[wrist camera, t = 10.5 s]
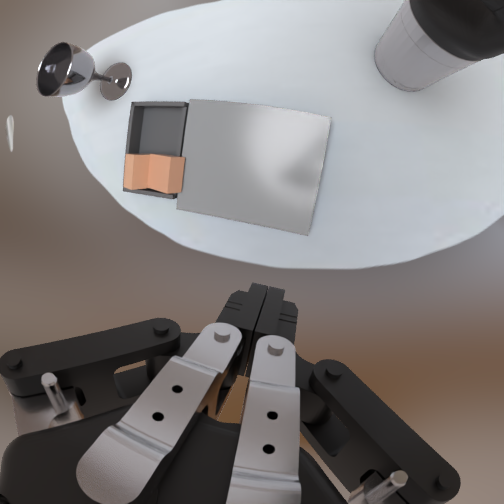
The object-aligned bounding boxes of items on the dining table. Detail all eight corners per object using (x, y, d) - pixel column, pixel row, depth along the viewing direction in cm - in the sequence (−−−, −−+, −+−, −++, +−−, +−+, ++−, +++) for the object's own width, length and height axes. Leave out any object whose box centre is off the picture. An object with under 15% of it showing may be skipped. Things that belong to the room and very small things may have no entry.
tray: (143, 104, 39) (131, 101, 36) (194, 105, 38) (184, 102, 34) (134, 187, 44) (122, 191, 41) (182, 195, 43) (172, 199, 40)
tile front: (163, 153, 40) (150, 153, 38) (185, 157, 37) (170, 157, 35) (160, 186, 42) (147, 187, 40) (181, 192, 39) (167, 193, 37)
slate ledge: (198, 102, 37) (190, 99, 35) (329, 120, 35) (331, 117, 32) (184, 205, 43) (176, 209, 40) (308, 230, 41) (308, 235, 38)
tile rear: (162, 154, 40) (153, 153, 41) (134, 155, 36) (125, 153, 37) (159, 187, 41) (150, 184, 43) (131, 189, 37) (123, 187, 39)
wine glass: (127, 52, 36) (67, 31, 22) (138, 86, 38) (75, 72, 24) (94, 76, 38) (33, 66, 24) (104, 110, 40) (40, 107, 26)
